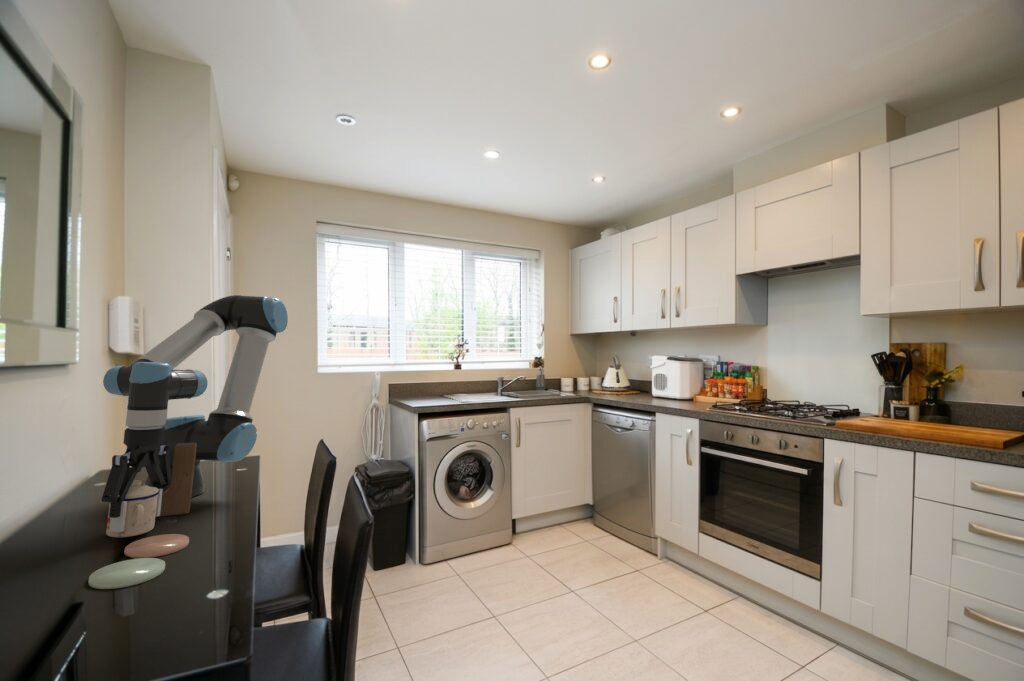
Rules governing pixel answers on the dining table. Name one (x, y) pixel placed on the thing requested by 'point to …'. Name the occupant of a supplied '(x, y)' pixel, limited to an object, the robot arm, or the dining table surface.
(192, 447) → the wooden block
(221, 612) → the dining table surface
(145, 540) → the pink coaster
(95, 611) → the dining table surface
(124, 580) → the sage coaster
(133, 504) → the teacup with lid
